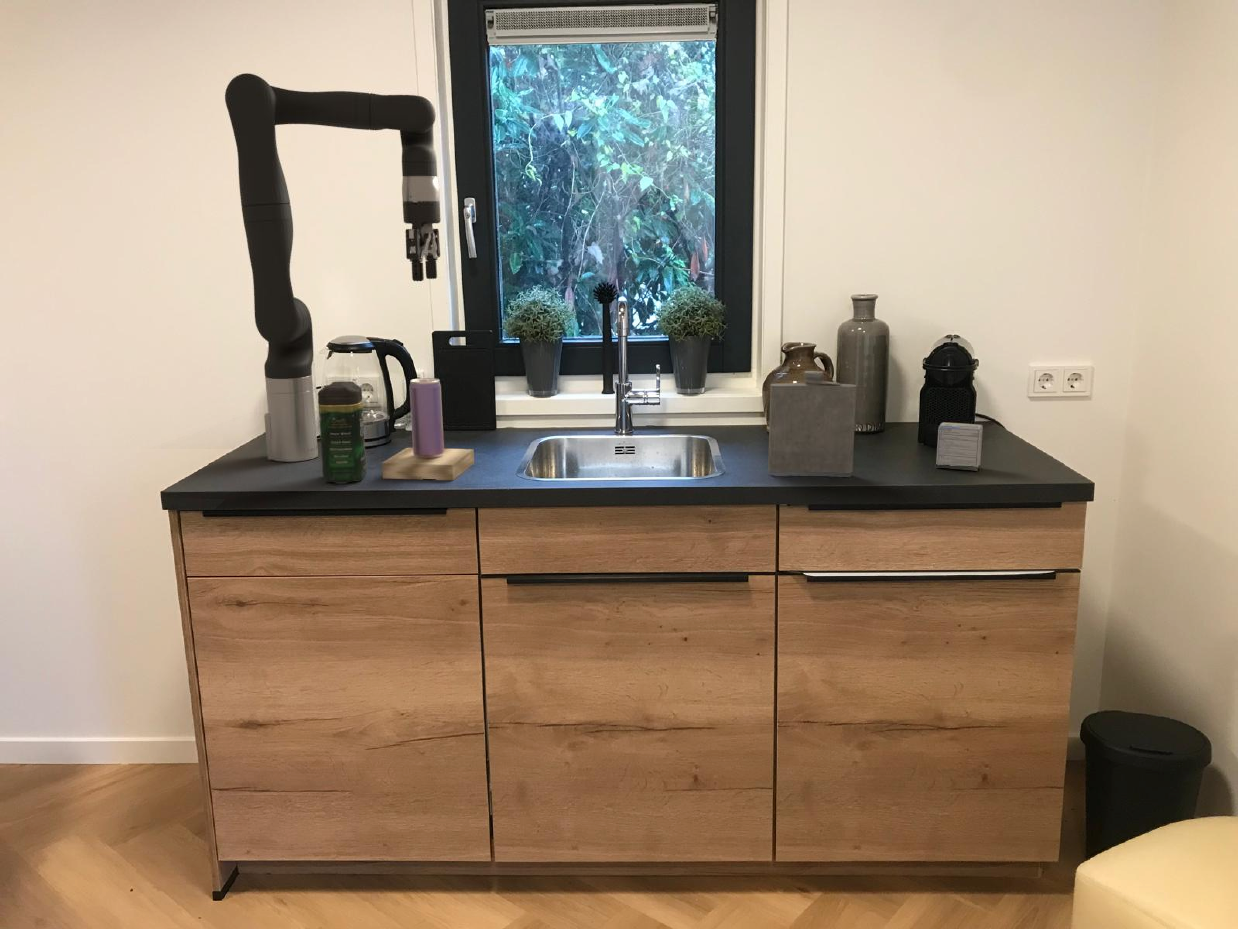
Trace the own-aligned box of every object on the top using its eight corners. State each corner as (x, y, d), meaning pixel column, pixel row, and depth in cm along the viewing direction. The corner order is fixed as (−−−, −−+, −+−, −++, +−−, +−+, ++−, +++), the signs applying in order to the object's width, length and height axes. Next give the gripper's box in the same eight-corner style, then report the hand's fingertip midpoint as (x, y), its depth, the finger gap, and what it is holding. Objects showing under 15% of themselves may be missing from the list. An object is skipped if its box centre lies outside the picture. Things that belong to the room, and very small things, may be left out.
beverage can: (437, 459, 197) (433, 382, 193) (408, 458, 198) (404, 382, 194) (448, 453, 202) (445, 378, 199) (420, 452, 204) (416, 377, 200)
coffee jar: (363, 484, 191) (356, 385, 187) (320, 485, 190) (312, 386, 186) (370, 472, 200) (364, 378, 196) (329, 473, 199) (322, 379, 195)
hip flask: (768, 476, 195) (771, 372, 190) (767, 471, 199) (770, 369, 194) (853, 478, 193) (858, 373, 188) (850, 473, 197) (855, 370, 192)
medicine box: (980, 467, 201) (983, 424, 199) (977, 472, 197) (981, 428, 195) (938, 464, 204) (941, 421, 202) (935, 468, 200) (938, 425, 198)
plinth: (382, 478, 195) (381, 462, 194) (408, 461, 208) (407, 447, 208) (453, 480, 193) (452, 465, 192) (474, 463, 206) (473, 449, 206)
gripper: (415, 200, 216) (419, 278, 220) (391, 199, 203) (395, 281, 206) (449, 200, 215) (452, 278, 219) (427, 198, 202) (431, 281, 205)
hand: (425, 279), depth 213 cm, fingers open, 8 cm apart
